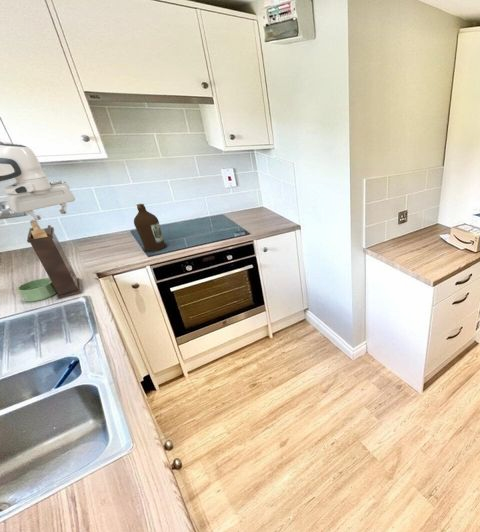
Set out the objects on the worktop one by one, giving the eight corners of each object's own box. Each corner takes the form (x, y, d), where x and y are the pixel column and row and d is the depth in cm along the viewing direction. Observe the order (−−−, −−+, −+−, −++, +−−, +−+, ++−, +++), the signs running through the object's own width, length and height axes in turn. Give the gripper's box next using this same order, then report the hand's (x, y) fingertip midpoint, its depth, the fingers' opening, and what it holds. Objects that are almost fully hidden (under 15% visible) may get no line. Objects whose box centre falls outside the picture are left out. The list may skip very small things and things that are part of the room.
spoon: (34, 239, 122) (32, 234, 122) (28, 225, 136) (26, 220, 135) (47, 236, 125) (45, 231, 124) (40, 223, 138) (38, 218, 137)
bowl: (22, 305, 128) (15, 293, 126) (24, 294, 135) (18, 283, 132) (58, 296, 135) (52, 285, 132) (59, 286, 141) (53, 275, 139)
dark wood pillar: (58, 299, 133) (25, 238, 120) (59, 285, 142) (28, 227, 130) (81, 293, 137) (51, 234, 125) (80, 279, 147) (52, 224, 134)
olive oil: (139, 252, 174) (122, 207, 163) (151, 244, 183) (135, 201, 172) (160, 251, 175) (144, 207, 163) (170, 244, 184) (156, 201, 173)
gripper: (61, 179, 143) (75, 209, 149) (-3, 189, 126) (16, 223, 133) (69, 180, 141) (84, 210, 147) (5, 191, 124) (24, 225, 131)
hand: (51, 216), depth 140 cm, fingers open, 8 cm apart
